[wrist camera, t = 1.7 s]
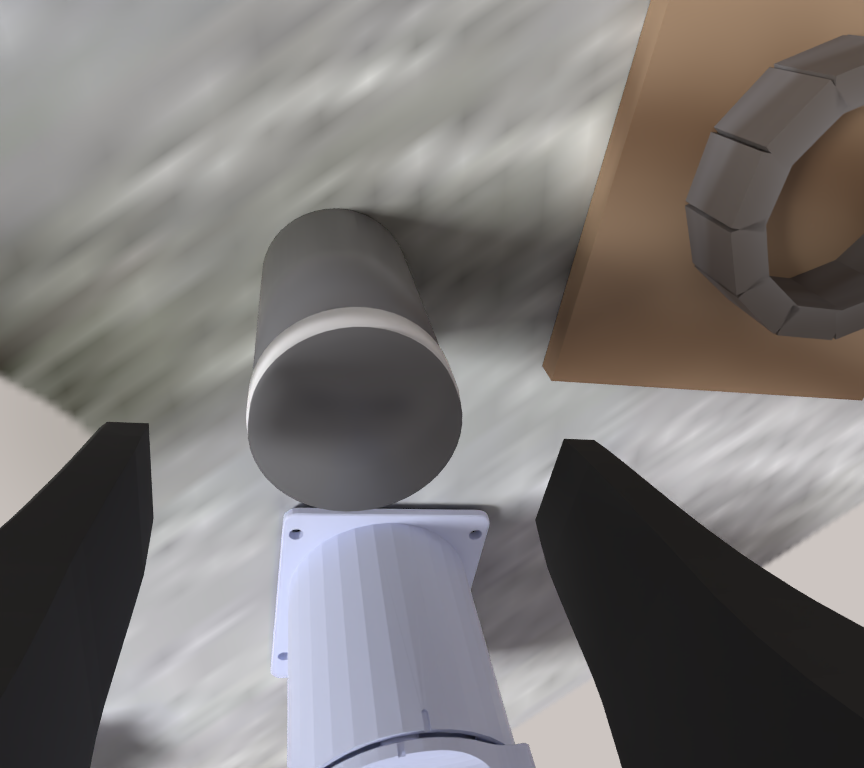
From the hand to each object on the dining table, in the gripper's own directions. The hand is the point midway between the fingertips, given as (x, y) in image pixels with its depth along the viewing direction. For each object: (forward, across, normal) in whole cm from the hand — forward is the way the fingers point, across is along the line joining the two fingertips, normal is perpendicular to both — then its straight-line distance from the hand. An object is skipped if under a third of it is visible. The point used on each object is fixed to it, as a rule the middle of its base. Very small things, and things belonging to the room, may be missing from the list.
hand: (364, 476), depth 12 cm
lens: (+10, 0, +1) cm, 10 cm away
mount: (+10, -14, -4) cm, 18 cm away
